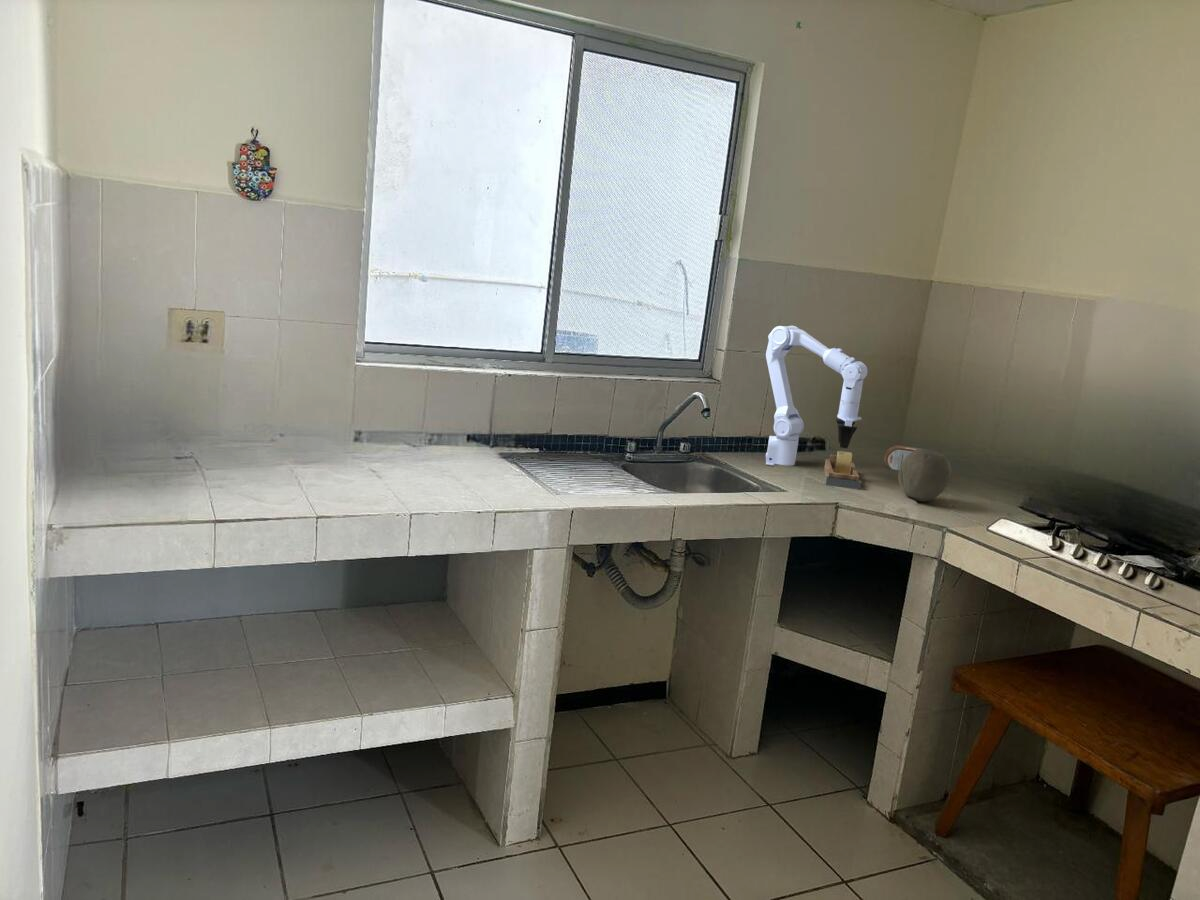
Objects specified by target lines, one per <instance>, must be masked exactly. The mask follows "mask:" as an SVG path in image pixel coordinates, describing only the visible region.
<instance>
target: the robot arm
mask: <svg viewBox="0 0 1200 900" xmlns="http://www.w3.org/2000/svg"><path fill="white" fill-rule="evenodd" d="M767 337H768V338H767V339H768V343H767V348H766V351H765V360H766V363H767V368H768V373H769V378H770V382H771V389H772V392H773V398H774V403H775V407H776V411H775V413H774V416H773V419H774V422H773V432H774V434H775V435H769V436H768V443H767V444H768V445H767V449H766V450H767V451H766V453H765V465H767V466H775V464H776V465H780V466H795V465H796V460H797V451H798V446H799V438H800V434H801V433H803V431H804V427H805V423H804V421H803V419H802V417H801V416H800V414H799V413H800V412H799V410H798V409H797V408H796V407H795V406H794V401H793V396H792V391H791V386H790V381H789V377H788V372H787V367H786V362H785V357H786V355H787V354H788V353H789V351H790V350H791V349H793V348H794V347H795V346H802V347H804V348H805V349H807V351H810V352H812V353H814V354H815V355H817V356H819V357H820V358H822V360H823V364H824V365H826V366H827V367H828V368H830V369H832V370H833V371H835V372H836V373H838V374H839V375H840V376H841V377H842V378H843V384H842V389H841V395H840V400H839V407H838V412H837V415H836V417H837V418H836V419H835V421H836V424H837V430H838V431H837V433H838V435H837V436H838V444H839V447H840V449H848V448H849V445H850V443H851V440H852V437H853V436H854V434H855V432H856V431H857V429H858V427H857V426H854V425H855V423H856V421H862V417H861V416H858V414H859V410H860V403H861V398H862V391H863V385H864V379H865V378H867V376H868V374H869V373H868V371H869V370H868V367H867V365H866V364H865V363H863V361H857V360H856V358H855V357H853V356H852V357H851V356H849V355H847V354H845V353H844V352H843V349H842V348H836V347H833V348H829V347H827V346H826V345H824V344H823V343H821V342H820V341H819V340H818V339H816V338H814V337H813V336H812V335H811V334H809V333H808V332H806V331H805V330H803V329H801V328H799V327H797V326H795V325H789V326H788V325H787V326H783V325H778V326H775V327H773V328H772V330H771V332H770V333H769V334H768V336H767Z"/></svg>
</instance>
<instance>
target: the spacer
mask: <svg viewBox="0 0 1200 900" xmlns="http://www.w3.org/2000/svg"><path fill="white" fill-rule="evenodd" d="M836 455H837V459H836V466H835V472H834V473H840V474H848V475H849V473H850V467H851V462H852V458H853V453H852V452H849V451H841V450H837V454H836Z"/></svg>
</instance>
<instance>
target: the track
mask: <svg viewBox="0 0 1200 900" xmlns="http://www.w3.org/2000/svg"><path fill="white" fill-rule="evenodd" d="M862 483H863V482H862V480H852V479H845V478H837V477H830V476H826V475H825V483H824V484H825V486H831V487H837V488H838V487H839V488H846V489H853V490H861V487H862Z"/></svg>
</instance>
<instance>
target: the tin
mask: <svg viewBox="0 0 1200 900" xmlns="http://www.w3.org/2000/svg"><path fill="white" fill-rule="evenodd" d="M917 449H922V448H920V447H913V446H903V445H893V446H891V447H889V448H888V449H887V450H886V451H885V453H884V456H883V460H884V461H883V462H884V463H885V464H884V465H885V466H887V468H888V469H889V470H896V471H898V472H899V469H900V466H901V464H902V462H903V460H904V459H905V458H906V457H907V455H908V454H910V453H911V452H912V451H914V450H917Z"/></svg>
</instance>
